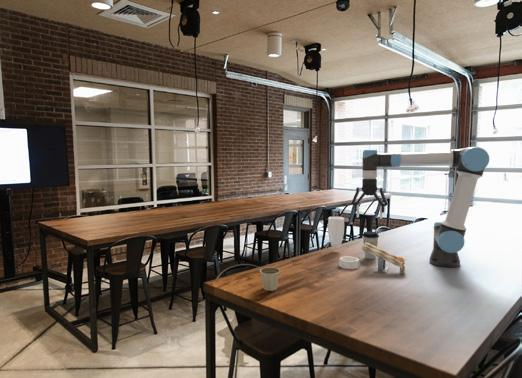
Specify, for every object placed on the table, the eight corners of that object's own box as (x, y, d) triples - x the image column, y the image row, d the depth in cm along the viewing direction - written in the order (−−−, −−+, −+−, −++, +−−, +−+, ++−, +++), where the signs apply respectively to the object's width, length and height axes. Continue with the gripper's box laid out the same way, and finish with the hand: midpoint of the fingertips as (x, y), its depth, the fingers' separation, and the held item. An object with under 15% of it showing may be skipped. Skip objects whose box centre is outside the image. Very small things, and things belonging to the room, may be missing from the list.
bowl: (360, 264, 201) (360, 257, 200) (356, 269, 192) (356, 262, 191) (342, 262, 205) (342, 255, 205) (337, 267, 196) (337, 260, 196)
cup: (326, 253, 225) (326, 218, 223) (329, 248, 235) (329, 216, 233) (342, 254, 222) (343, 219, 220) (345, 250, 231) (345, 216, 229)
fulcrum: (405, 270, 190) (406, 256, 189) (403, 276, 180) (403, 261, 180) (377, 266, 197) (377, 253, 196) (373, 272, 187) (373, 258, 186)
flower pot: (274, 294, 160) (273, 275, 159) (256, 290, 165) (255, 271, 164) (284, 287, 168) (284, 269, 167) (266, 283, 173) (266, 266, 172)
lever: (405, 261, 194) (407, 256, 193) (402, 268, 183) (405, 262, 182) (366, 243, 203) (368, 238, 202) (361, 249, 192) (363, 243, 191)
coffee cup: (379, 260, 208) (379, 234, 207) (362, 259, 210) (362, 234, 209) (377, 255, 217) (378, 231, 216) (361, 255, 219) (361, 230, 218)
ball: (403, 263, 187) (404, 256, 186) (402, 265, 184) (403, 258, 183) (396, 261, 188) (397, 255, 188) (395, 263, 185) (396, 256, 185)
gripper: (393, 178, 194) (393, 218, 196) (349, 177, 206) (349, 215, 208) (391, 179, 188) (391, 220, 190) (345, 178, 199) (345, 217, 201)
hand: (369, 217), depth 199 cm, fingers open, 12 cm apart
